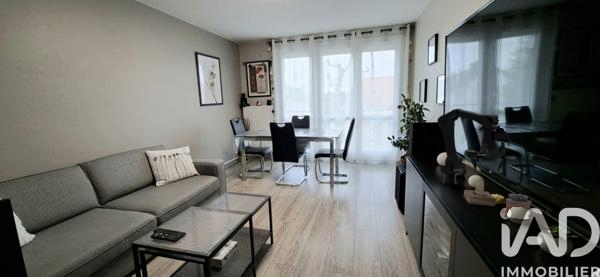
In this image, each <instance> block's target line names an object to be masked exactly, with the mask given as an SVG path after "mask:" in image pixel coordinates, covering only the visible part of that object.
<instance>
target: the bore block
mask: <svg viewBox="0 0 600 277" xmlns="http://www.w3.org/2000/svg"><path fill="white" fill-rule="evenodd" d="M475 192H476V190H469V189H464V191H463V198H464V199H465V200H466V202H467V203H468V204H470V205H479V206H480V205H481V206H489V207H490V206H491V207H495V206H496V198H495V197H494V196H493V195H492V194H491V193H490V192H489V191H485V190H484V191H483V196H476V195H475Z"/></svg>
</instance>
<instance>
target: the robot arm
mask: <svg viewBox="0 0 600 277" xmlns="http://www.w3.org/2000/svg"><path fill="white" fill-rule="evenodd" d="M497 115H498V114H496V115H495V114H493V113H492V114H491V113H483V114H482V113H478V112H475V111H470V110H466V109H462V108H453V109H452V110H450V111H448V112H446V113H445V114H443V115H440V116H438V118H437V124H438V127H439V129H440V130H441V131H442V136H443V141H444V146H445V147H444V148H445V152H446V158H445V160H444V166H442V167H441V168H440V172H441V174H442V173H443V175H444V176H443V179H442V180H441V181H442V183H443V182H444V183H443V184H444V185H450V186H451V185H452V186H457V185H458V183H457V181H456V179H457V177H456V176H457V174H460V172H461V170H462V169H463V166H464V163H463V158H462V157H460V156H458V154H457V148H456V141H455V137H454V136H455V135H454V128H455V124H456V121H457V120H458V119H460V118H461V119H466V120H469V121H473V122H475V123H477V124H478V125H480V127H479V128H478V129H477V130H478V131H482V134H481V141H480V144H481V146H480V147H481V148H480V150H479V151H476V150H473V149H466V150H464V153H463V154H464V156H465V157H466V158H468V159H470V160H469V161H471V164H472V166H473V169H474V171H475V172H477V168H478V167H477V163H478V162H477V160H478V158H477V157H486V158H487V159H496V165H495V166H496V169H495V170H496V173H499V171H500V170H501V168H502V167H503V165H501V163H502V161H503V159H499V157H500V156H504V155H505V151H506V148H505V147H500V148H499V147H498V143H503V144H509V143H508V142H509V135H508V134H507V132H505V131H504V129H503V128H500V126H496V125H497V124H498V121H499V120H498V116H497ZM497 142H498V143H497ZM497 159H498V160H497Z"/></svg>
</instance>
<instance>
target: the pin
mask: <svg viewBox="0 0 600 277" xmlns="http://www.w3.org/2000/svg"><path fill="white" fill-rule="evenodd" d="M475 191H476V192H475V195H476V196H483V191H485V183H484V182H482V181H476V184H475Z"/></svg>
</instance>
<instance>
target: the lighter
mask: <svg viewBox="0 0 600 277" xmlns="http://www.w3.org/2000/svg"><path fill="white" fill-rule="evenodd" d="M528 199H529V196H528V195H524V194H521V193H518V194H514V193H509V194H508V198H506V200H505V201H506V202H505V203H506V204H505V205H506V206H505V213H504V217H505V218H507V213H508V211H509V209H511V208H512V207H522V208H524V209H526V210H531V205H532V201H531V200H528Z"/></svg>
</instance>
